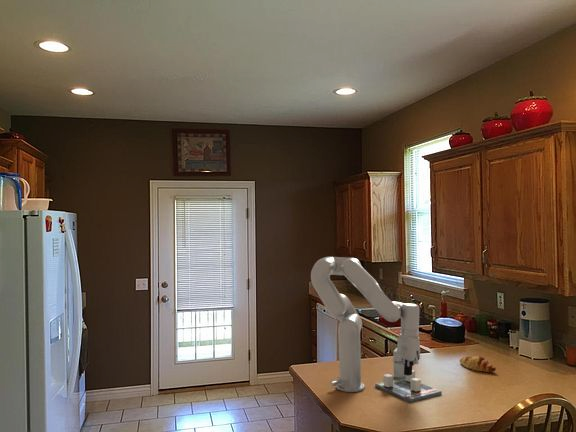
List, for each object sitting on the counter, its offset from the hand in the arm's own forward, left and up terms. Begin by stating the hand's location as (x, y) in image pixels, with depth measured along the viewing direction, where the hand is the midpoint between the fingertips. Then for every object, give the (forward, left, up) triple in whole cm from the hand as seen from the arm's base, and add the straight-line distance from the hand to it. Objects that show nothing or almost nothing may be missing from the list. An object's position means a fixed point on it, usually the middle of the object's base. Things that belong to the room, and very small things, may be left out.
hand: (407, 374), depth 206 cm
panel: (+1, +1, -8) cm, 8 cm away
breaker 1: (-6, +6, -6) cm, 10 cm away
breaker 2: (+7, +6, -6) cm, 11 cm away
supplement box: (+13, +17, -8) cm, 23 cm away
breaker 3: (+1, -4, -6) cm, 7 cm away
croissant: (+53, +7, -8) cm, 54 cm away
